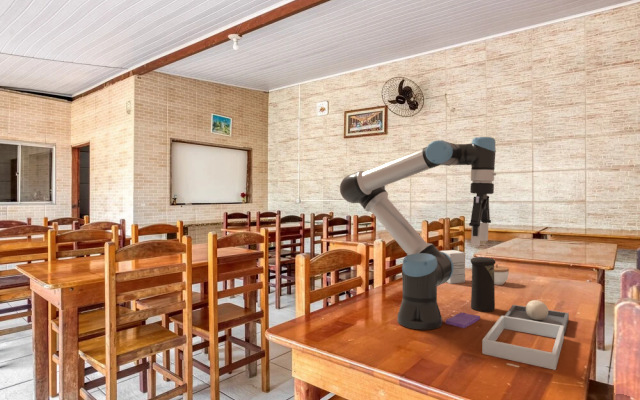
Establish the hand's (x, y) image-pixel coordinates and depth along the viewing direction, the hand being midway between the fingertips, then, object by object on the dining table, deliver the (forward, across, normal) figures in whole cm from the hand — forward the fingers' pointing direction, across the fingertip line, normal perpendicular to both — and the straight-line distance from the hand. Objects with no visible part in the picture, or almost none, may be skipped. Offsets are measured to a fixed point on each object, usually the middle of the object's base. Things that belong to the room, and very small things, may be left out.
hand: (479, 243), depth 140 cm
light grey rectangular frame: (+27, -16, -17) cm, 35 cm away
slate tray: (+27, +9, -18) cm, 34 cm away
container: (+28, +16, +1) cm, 32 cm away
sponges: (+28, -3, +4) cm, 29 cm away
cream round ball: (+26, +10, -18) cm, 33 cm away
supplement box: (+29, +56, +23) cm, 67 cm away
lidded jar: (+28, +62, +4) cm, 69 cm away
